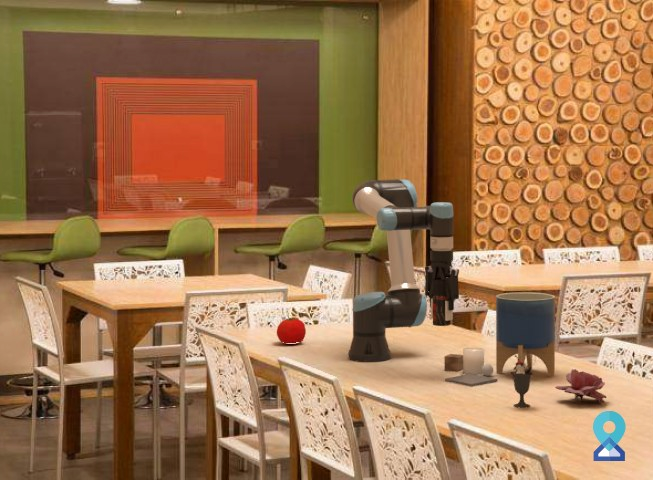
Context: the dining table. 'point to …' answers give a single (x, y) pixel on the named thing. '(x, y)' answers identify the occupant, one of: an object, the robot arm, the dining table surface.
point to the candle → (473, 360)
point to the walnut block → (453, 362)
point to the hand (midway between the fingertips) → (441, 318)
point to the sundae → (521, 381)
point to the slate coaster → (471, 380)
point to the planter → (525, 328)
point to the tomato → (291, 331)
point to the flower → (583, 385)
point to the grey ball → (487, 370)
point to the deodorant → (439, 303)
